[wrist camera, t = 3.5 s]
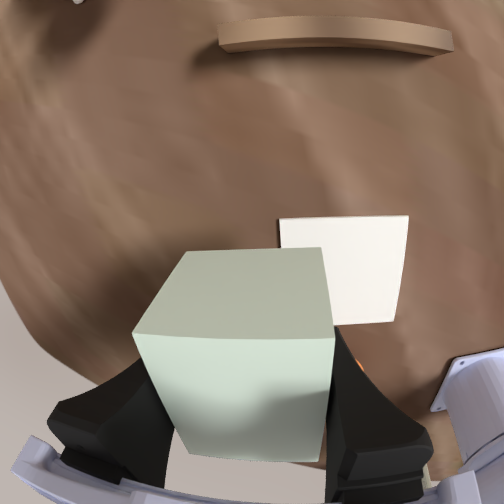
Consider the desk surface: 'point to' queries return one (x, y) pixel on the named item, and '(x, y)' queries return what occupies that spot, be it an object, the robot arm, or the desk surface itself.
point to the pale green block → (243, 352)
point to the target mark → (355, 261)
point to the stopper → (333, 34)
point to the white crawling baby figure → (78, 1)
